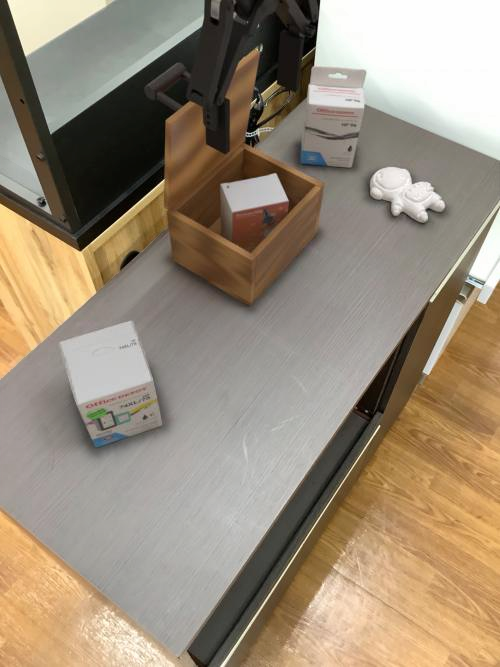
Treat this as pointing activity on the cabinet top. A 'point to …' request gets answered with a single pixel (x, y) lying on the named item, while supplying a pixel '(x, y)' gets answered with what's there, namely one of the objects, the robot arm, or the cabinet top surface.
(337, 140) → the ink box
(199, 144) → the lid
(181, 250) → the chest
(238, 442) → the cabinet top surface
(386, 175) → the astronaut figurine
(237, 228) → the small box
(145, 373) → the ink box
